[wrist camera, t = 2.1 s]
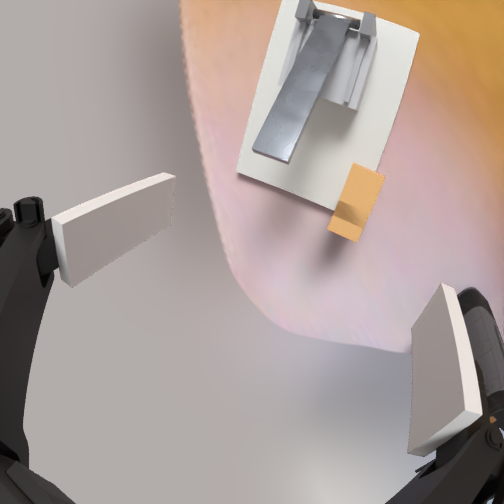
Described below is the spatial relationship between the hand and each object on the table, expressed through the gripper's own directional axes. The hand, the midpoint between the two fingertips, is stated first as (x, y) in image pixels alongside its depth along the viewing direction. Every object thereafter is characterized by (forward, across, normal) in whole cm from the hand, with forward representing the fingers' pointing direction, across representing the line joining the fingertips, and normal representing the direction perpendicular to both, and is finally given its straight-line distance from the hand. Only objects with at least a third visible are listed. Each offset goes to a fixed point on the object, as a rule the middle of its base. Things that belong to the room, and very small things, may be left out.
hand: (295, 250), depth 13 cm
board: (+23, -5, +7) cm, 25 cm away
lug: (+22, +2, -1) cm, 22 cm away
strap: (+13, -5, +8) cm, 17 cm away
